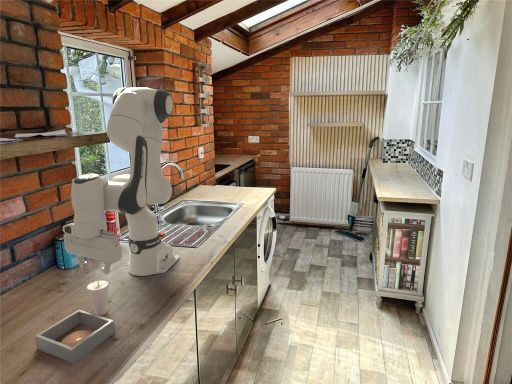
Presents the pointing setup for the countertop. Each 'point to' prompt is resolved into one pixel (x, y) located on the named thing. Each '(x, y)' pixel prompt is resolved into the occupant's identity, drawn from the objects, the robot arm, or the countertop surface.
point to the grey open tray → (82, 348)
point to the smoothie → (98, 295)
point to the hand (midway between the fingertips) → (94, 270)
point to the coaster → (75, 337)
